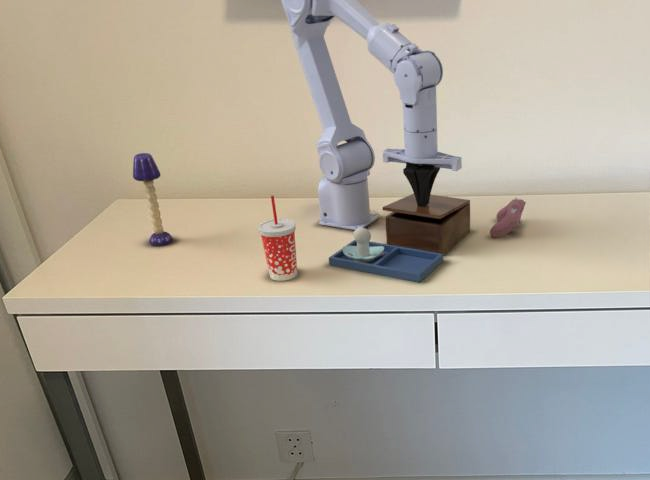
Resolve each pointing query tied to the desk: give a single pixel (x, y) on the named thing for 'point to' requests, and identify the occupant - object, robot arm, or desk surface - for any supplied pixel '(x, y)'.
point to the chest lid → (427, 206)
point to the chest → (428, 230)
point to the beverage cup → (279, 246)
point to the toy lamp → (151, 195)
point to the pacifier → (363, 247)
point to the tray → (392, 262)
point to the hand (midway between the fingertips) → (423, 204)
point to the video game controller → (508, 218)
